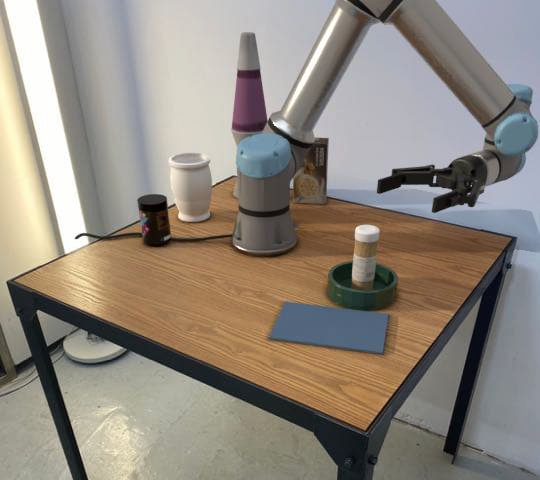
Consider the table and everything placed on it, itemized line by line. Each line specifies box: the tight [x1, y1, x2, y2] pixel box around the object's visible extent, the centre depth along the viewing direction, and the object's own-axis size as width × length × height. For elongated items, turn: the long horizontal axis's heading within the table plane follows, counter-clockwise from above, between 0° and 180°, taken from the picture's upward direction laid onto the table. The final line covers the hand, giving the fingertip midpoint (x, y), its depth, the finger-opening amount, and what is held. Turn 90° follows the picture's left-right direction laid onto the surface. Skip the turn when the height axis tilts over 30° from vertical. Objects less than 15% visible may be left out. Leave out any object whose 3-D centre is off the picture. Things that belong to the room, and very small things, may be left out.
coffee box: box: [292, 137, 330, 205], centre depth 153 cm, size 9×6×16 cm
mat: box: [268, 301, 390, 355], centre depth 104 cm, size 20×13×1 cm, turn 76°
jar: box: [167, 152, 213, 223], centre depth 143 cm, size 11×10×15 cm
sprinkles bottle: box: [351, 224, 381, 291], centre depth 110 cm, size 5×5×13 cm
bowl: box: [326, 260, 399, 312], centre depth 113 cm, size 14×14×4 cm
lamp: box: [230, 31, 269, 199], centre depth 150 cm, size 11×11×40 cm
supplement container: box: [136, 193, 172, 248], centre depth 132 cm, size 7×7×10 cm
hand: (405, 195), depth 109 cm, fingers open, 13 cm apart
